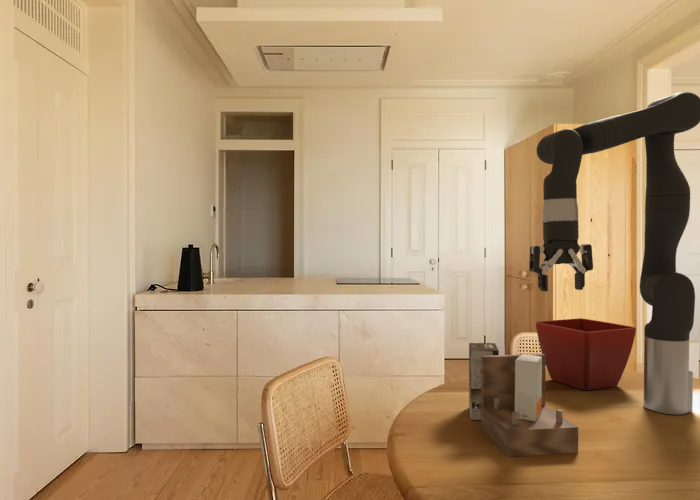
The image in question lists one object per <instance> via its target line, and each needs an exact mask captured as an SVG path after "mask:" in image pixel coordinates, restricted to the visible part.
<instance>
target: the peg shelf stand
mask: <svg viewBox="0 0 700 500" xmlns="http://www.w3.org/2000/svg"><path fill="white" fill-rule="evenodd" d="M521 355H522V354H499V355H490V356H481V420H480V429H481V431H482V432H483V433H484V434H486V435H487V437H489V439H490V440H491V441H492V442H493V443H494V444H495V445H496V446H497V447H498V448H500V450H501V451H502V452H503V453H504V455H506V456H507V457H510V458H511V457H528V456H545V455H546V456H547V455H564V454H565V455H566V454H578V453H579V426H577V425H575V424H574V423H573V422H571V421H570V420H568V419H567V418H566V417H564V415H563V413H564V412H563V410H562V409H556V410H555V411H554V410H553V409H551V408H550V407H548V406H547V405H546V364H545V361H546V355H544V354H542V353H529V354H528V353H527V354H525V355H533V356H541V357H542V399H541V414H540V415H539V417H538V418H537V420H536V421H535V422H534V421H528V420H523V419H519V412H516V411H515V360H516V359H517V358H518V357H519V356H521Z"/></svg>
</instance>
